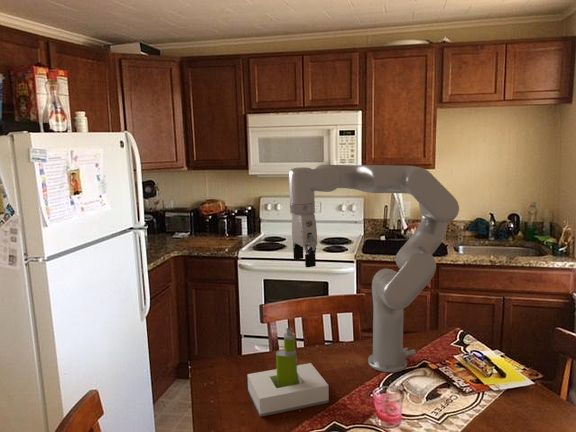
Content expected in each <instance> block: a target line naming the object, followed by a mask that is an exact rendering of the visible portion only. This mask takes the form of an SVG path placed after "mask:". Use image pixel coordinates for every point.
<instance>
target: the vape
mask: <svg viewBox="0 0 576 432" xmlns="http://www.w3.org/2000/svg"><path fill="white" fill-rule="evenodd" d="M285 330H286V332H285V333H283V347H284V348H282V349H278V350H277V351H276V352H275V359H276V360H275V361H276V362H275V363H276V369H277V388H281V387H286V386H292V385H297V365H298V364H297V362H298V357H297V351H296V350H297V349H296V334H295V333H294V332H293V328H292V327H287V328H286V329H285Z"/></svg>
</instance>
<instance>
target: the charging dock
mask: <svg viewBox="0 0 576 432" xmlns="http://www.w3.org/2000/svg"><path fill="white" fill-rule="evenodd" d="M329 386H330V385H329V384H328V383H327V382H326V380H325V379H324V378H323V376H321V374H320V373H319V371H318V370H317V369H316V368H315V367H314V365H313V364H312V363H311V362H310V363H308V362H307V363H304V364H297V385H292V386H286V387H281V388H277V368H275V369H271V370H264V371H258V372H253V373H247V391H248V393H249V396H250V398H251V400H252V402H253V405H254V408H256V411H257V413H258V415H259V417H265V416H266V417H267V416H271V415H276V414H281V413H285V412H291V411H294V410H295V411H296V410H300V409H305V408H309V407H314V406H319V405H324V404H328V403H329V397H330V395H329V391H330V390H329Z"/></svg>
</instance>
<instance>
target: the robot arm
mask: <svg viewBox="0 0 576 432" xmlns="http://www.w3.org/2000/svg"><path fill="white" fill-rule="evenodd" d="M288 183H289V184H288V185H289V187H288V188H289V208H290V209H289V210H290V211H289V212H290V213H289V214H290V215H291V240H292V242H293V243H292V247H293V249H292V250H293V251H292V253H293V260H294V261H296V260H303V259H304V261H305V262H304V266H305V268H314V267H316V263H317V262H316V253H317V252H316V251H317V245H318V231H317V220H316V216H315V214H316V203H315V202H316V201H315V192H323V193H330V192H333V191H336V190H337V189H349V190H350V189H351V190H356V191H359V192H360V191H361V192H364V193H369V194H407V195H411V197H413V199H415V200H416V201H417V203H418V206H419V210H420V215H421V217H420V222H419V225H418V226H417V229H416V230H415V231H414V232H413V234H412V235H411V236H410V237H409V239H408V240H407V241H406V242H405V243H404V245H403V246H401V247H400V249H399V250H398V252H397V253H396V255H395V264H396V266H397V267H398V269H399V270H397V271H396V270H394V269H391V268H383V269H380V270H378V271H377V272H376V273H375V274H374V276H373V277H372V280H371V281H372V282H371V295H372V308H373V310H372V312H373V313H372V316H373V319H372V353H371V354H370V355H369V356H368V358H367V362H368V365H369V366H370V368H371V369H372V368H373V369H374V370H376V371H379V372H383V373H398V372H401V371H403V370H405V369H406V368H407V367H408V359H407V358H408V357H413V356H416V355H417V352H416V349H413V348H412V349H408V347H403V346H404V341H403V340H404V316H405V315H404V309H406V308H407V307H408V306H409V305H410V304H412V302H413V301H414V300H415V299H416V298H417V297H418V296H419V295H420V294H421V292H422V291H423V289H425V287H426V286H427V285H428V284H429V283H430V281H431V280H432V279H433V277H434V275H435V273H436V271H437V270H436V269H437V262H436V260H435V258H434V256H433V255H434V253H435V252H436V250H437V249H438V248H439V246H441V244H442V242H443V241H444V239H445V237H446V234H447V229H448V223H451V222H452V221H454V220H455V219H456V218H457V217H458V215H459V212H460V205H459V202H458V200H457V199H456V197H455V196H453V194H452V193H451V192H450V191H449V190H448V189H447V188H445V186H444V185H443V184H442V183H441V182H440V181H439V180H438V179H437V178H436V177H435V176H434V175H433V174H432V173H431V172H430V171H429V170H428V169H426V168H423V167H419V166H415V165H387V164H386V165H381V164H379V165H378V164H361V165H360V164H359V165H358V164H357V165H355V164H354V165H353V164H321V165H318V166H317V167H315V168H310V167H294V168H291V169H289V172H288ZM304 252H305V253H304Z"/></svg>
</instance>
